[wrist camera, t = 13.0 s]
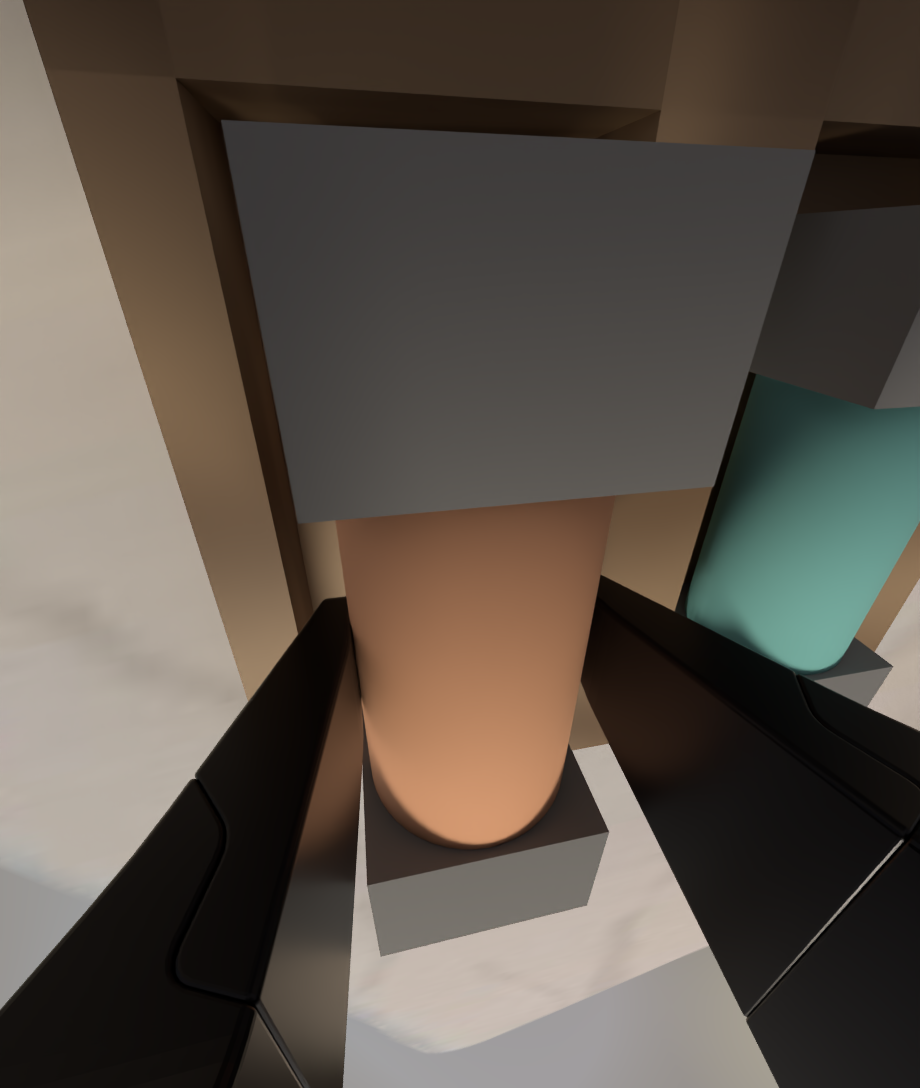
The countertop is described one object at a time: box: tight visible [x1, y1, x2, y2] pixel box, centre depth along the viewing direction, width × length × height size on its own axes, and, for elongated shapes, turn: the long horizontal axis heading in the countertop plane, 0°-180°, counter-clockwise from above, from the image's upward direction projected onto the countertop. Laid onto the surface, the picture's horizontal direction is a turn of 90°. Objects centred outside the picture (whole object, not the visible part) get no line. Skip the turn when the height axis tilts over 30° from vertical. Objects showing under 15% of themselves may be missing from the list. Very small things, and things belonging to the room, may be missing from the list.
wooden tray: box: [23, 0, 920, 750], centre depth 10 cm, size 14×16×3 cm
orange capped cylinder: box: [221, 120, 816, 956], centre depth 7 cm, size 11×4×4 cm, turn 179°
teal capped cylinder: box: [675, 205, 920, 707], centre depth 11 cm, size 11×4×4 cm, turn 0°
